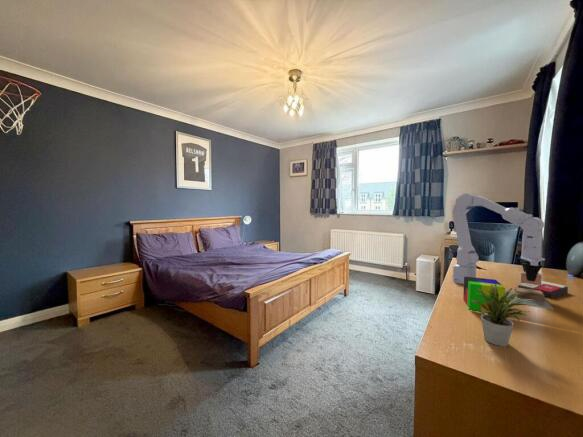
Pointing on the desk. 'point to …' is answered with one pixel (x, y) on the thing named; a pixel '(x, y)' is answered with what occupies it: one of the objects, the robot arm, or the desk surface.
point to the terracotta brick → (524, 280)
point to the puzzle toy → (472, 289)
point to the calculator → (547, 289)
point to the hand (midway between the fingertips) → (529, 279)
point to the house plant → (499, 316)
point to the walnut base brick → (529, 294)
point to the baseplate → (532, 302)
